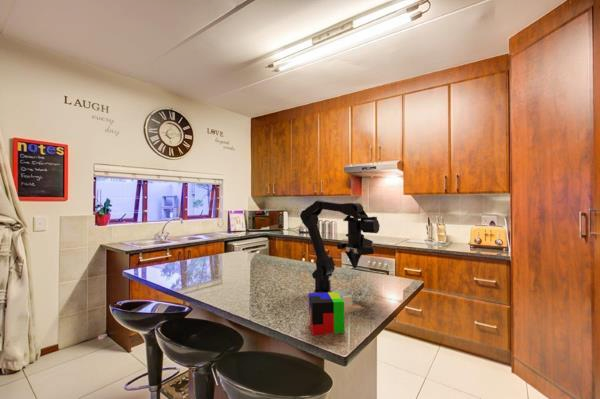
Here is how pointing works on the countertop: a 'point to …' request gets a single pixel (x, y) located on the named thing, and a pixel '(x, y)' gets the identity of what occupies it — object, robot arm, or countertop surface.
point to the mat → (353, 308)
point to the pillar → (345, 298)
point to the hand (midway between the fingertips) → (354, 268)
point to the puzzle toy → (326, 313)
